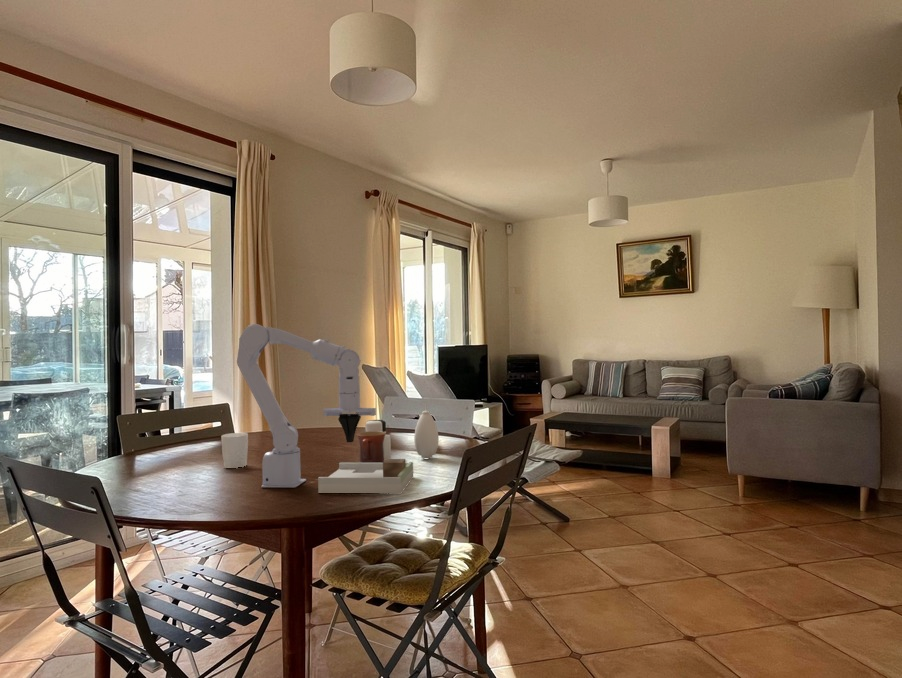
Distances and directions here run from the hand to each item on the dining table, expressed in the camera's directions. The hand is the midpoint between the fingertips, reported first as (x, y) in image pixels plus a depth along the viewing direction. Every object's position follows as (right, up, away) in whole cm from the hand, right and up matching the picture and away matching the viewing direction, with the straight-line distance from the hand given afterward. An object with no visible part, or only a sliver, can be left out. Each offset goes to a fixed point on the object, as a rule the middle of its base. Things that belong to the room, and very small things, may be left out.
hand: (350, 441), depth 156 cm
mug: (+4, -11, +14) cm, 18 cm away
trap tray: (+6, -10, -7) cm, 14 cm away
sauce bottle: (+20, -10, +26) cm, 34 cm away
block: (+13, -8, -8) cm, 17 cm away
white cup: (-40, -12, +20) cm, 46 cm away
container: (+4, -11, +25) cm, 27 cm away
